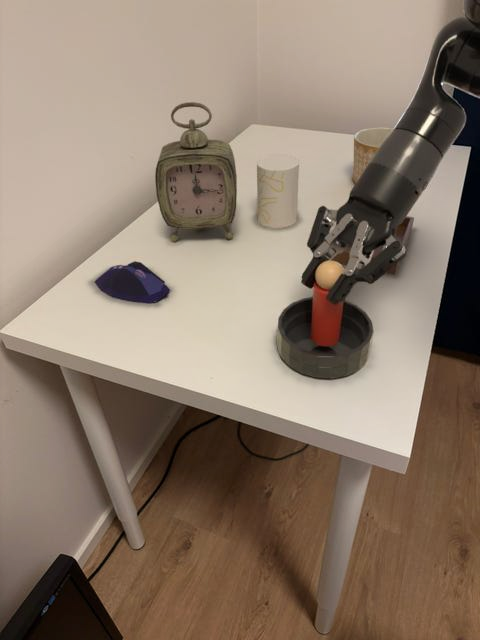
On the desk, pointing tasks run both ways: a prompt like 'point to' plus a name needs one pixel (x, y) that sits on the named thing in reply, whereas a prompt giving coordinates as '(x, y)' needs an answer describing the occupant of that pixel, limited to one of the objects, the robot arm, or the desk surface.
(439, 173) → the desk surface
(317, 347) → the pan
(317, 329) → the doll
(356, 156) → the planter
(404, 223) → the tray
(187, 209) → the tabletop clock
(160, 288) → the computer mouse
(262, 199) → the white cylinder
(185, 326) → the desk surface
